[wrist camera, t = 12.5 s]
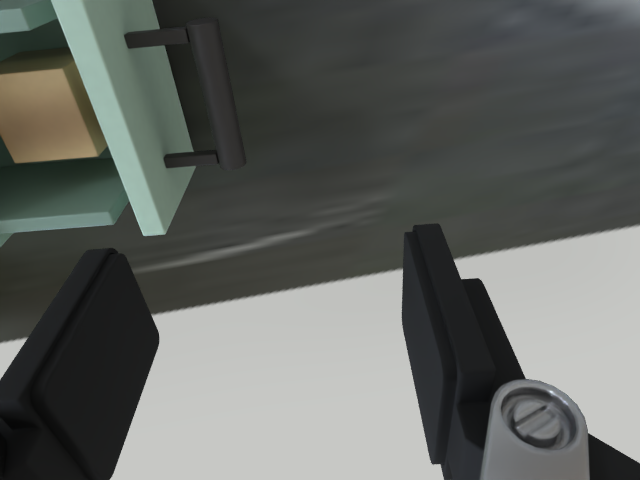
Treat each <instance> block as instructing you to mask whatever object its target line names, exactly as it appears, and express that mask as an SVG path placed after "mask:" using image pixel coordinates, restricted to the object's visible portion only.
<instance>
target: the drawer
mask: <svg viewBox="0 0 640 480" xmlns="http://www.w3.org/2000/svg"><path fill="white" fill-rule="evenodd" d="M189 42H190V43H191V48H192V52H193V56H194V60H195V64H196V68H197V72H198V77H199V81H200V85H201V89H202V93H203V97H204V102H205V106H206V110H207V114H208V118H209V122H210V126H211V131H212V135H213V139H214V143H215V147H216V150H206V151H193V148H192V144H191V141H190V137H189V133H188V130H187V126H186V122H185V119H184V115H183V111H182V108H181V104H180V100H179V97H178V93H177V89H176V86H175V82H174V78H173V75H172V71H171V67H170V64H169V60H168V56H167V53H166V49H165V46H164V45H174V44H185V43H189ZM67 47H70V50H71V53H72V55H73V58H74V60H75V63H76V65H77V68H78V70H79V73H80V76H81V78H82V81H83V83H84V86H85V88H86V91H87V93H88V96H89V98H90V101H91V104H92V106H93V109H94V111H95V114H96V116H97V119H98V121H99V124H100V127H101V129H102V132H103V134H104V137H105V139H106V142H107V144H108V146H107V147H106V148H105V149H104V151H103V152H102V153H101V154H100V155H99V156H98V157H87V158H75V159H63V160H51V161H39V162H28V163H15V162H14V160H13V158H12V156H11V154H10V153H9V151H8V149H7V147H6V145H5V143H4V141H3V139H2V138H1V136H0V233H13V232H26V231H39V230H52V229H64V228H77V227H90V226H103V225H113V224H115V222H116V221H117V219H118V218H119V216H120V214H121V213H122V211H123V210H124V208H125V206H126V205H127V203H128V202H129V200H130V203H131V206H132V208H133V211H134V213H135V216H136V218H137V221H138V223H139V226H140V229H141V231H142V234H143V236H151V235H164V234H166V232H167V230H168V228H169V225H170V223H171V221H172V219H173V217H174V214H175V212H176V210H177V208H178V206H179V203H180V201H181V199H182V197H183V194H184V192H185V190H186V188H187V186H188V183H189V181H190V179H191V177H192V175H193V172H194V170H195V168H196V166H202V165H214V164H218V163H219V164H220V167H221V168H222V169H224V170H235V169H239V168H241V167H243V166H244V165H245V164H246V157H245V152H244V147H243V142H242V137H241V132H240V127H239V122H238V117H237V112H236V107H235V103H234V98H233V93H232V88H231V83H230V78H229V73H228V68H227V63H226V58H225V53H224V48H223V43H222V38H221V33H220V28H219V23H218V19H217V18H200V19H195V20H191V21H189V22H187V23H186V26H185V27H175V28H165V29H160V27H159V24H158V20H157V16H156V13H155V9H154V5H153V2H152V0H0V62H1V61H3V60H5V59H7V58H9V57H11V56H13V55H15V54H17V53H19V52H25V51H36V50H46V49H56V48H67Z"/></svg>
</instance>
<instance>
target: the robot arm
mask: <svg viewBox="0 0 640 480" xmlns="http://www.w3.org/2000/svg"><path fill="white" fill-rule="evenodd" d="M402 325H403V331H404V336H405V341H406V346H407V350H408V355H409V359H410V365H411V370H412V375H413V379H414V384H415V389H416V394H417V398H418V403H419V408H420V413H421V418H422V423H423V427H424V432H425V437H426V442H427V447H428V452H429V456H430V460H431V463H432V464H441V468H442V472H443V477H444V480H640V463H638V462H637V461H635V460H633V459H631V458H630V457H628V456H626V455H624V454H623V453H621V452H619V451H618V450H616V449H614V448H613V447H611V446H609V445H607V444H605V443H604V442H602V441H600V440H599V439H597V438H595V437H594V436H592V435H590V434H589V433H588V430H587V425H586V421H585V417H584V416H583V414H582V412H581V410H580V409H579V407H578V405H577V404H576V403H575V402H574V401H573V400H572V399H571V398H570V397H569V396H568V395H567V394H565V393H564V392H562V391H560V390H559V389H557V388H556V387H554V386H552V385H549V384H547V383H544V382H541V381H537V380H529V379H526V378H525V376H524V374H523V372H522V369H521V367H520V365H519V363H518V360H517V358H516V356H515V354H514V352H513V349H512V347H511V345H510V342H509V340H508V338H507V336H506V334H505V331H504V329H503V327H502V325H501V322H500V320H499V318H498V316H497V313H496V311H495V309H494V307H493V304H492V302H491V300H490V297H489V295H488V293H487V291H486V289H485V286H484V284H483V283H482V281H481V280H480V279H478V278H476V279H461V278H460V276H459V273H458V270H457V268H456V265H455V262H454V260H453V257H452V255H451V252H450V250H449V247H448V245H447V242H446V239H445V237H444V234H443V232H442V229H441V227H440V225H439V224H424V225H414V226H413V232H405V234H404V259H403V295H402ZM158 345H159V333H158V330H157V327H156V325H155V323H154V321H153V318H152V316H151V313H150V311H149V309H148V307H147V304H146V302H145V300H144V297H143V295H142V293H141V290H140V288H139V286H138V284H137V281H136V279H135V277H134V274H133V272H132V270H131V267H130V265H129V263H128V261H127V258H126V257H125V255H124V254H119V253H118V252H117V251H116V250H115V249H113V248H107V249H93V250H88V251H86V252H85V253H84V254H83V256H82V257H81V259H80V260H79V262H78V263H77V265H76V266H75V268H74V269H73V271H72V272H71V274H70V275H69V277H68V278H67V280H66V281H65V283H64V284H63V286H62V287H61V289H60V290H59V292H58V293H57V295H56V296H55V298H54V299H53V301H52V303H51V304H50V306H49V307H48V309H47V310H46V312H45V313H44V315H43V316H42V318H41V319H40V321H39V322H38V324H37V325H36V327H35V328H34V330H33V331H32V333H31V334H30V336H29V337H28V339H27V340H26V342H25V343H24V345H23V346H22V348H21V349H20V351H19V353H18V354H17V356H16V357H15V358H14V360H13V361H12V363H11V365H10V366H9V368H8V369H7V371H6V372H5V374H4V375H3V377H2V378H1V380H0V480H110V478H111V477H112V475H113V473H114V470H115V467H116V464H117V462H118V459H119V456H120V453H121V450H122V447H123V445H124V442H125V439H126V436H127V433H128V431H129V428H130V425H131V422H132V419H133V416H134V413H135V411H136V408H137V405H138V402H139V400H140V396H141V394H142V391H143V388H144V385H145V383H146V379H147V377H148V374H149V371H150V368H151V366H152V363H153V360H154V357H155V354H156V351H157V349H158Z"/></svg>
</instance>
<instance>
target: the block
mask: <svg viewBox="0 0 640 480" xmlns="http://www.w3.org/2000/svg"><path fill="white" fill-rule="evenodd" d="M0 136H1V138H2V139H3V141H4V143H5V145H6V147H7V149H8V151H9V153H10V154H11V156H12V158H13V160H14V162H15V163H28V162H39V161H51V160H63V159H75V158H87V157H98V156H99V155H100V154H101V153H102V152H103V151H104V149H105V148H106V147H107V146H108V144H107V142H106V139H105V137H104V134H103V132H102V129H101V127H100V124H99V121H98V119H97V116H96V114H95V111H94V109H93V106H92V104H91V101H90V98H89V96H88V93H87V91H86V88H85V86H84V83H83V81H82V78H81V76H80V73H79V70H78V68H77V65H76V63H75V60H74V58H73V55H72V53H71V50H70V47H67V48H56V49H46V50H36V51H25V52H19V53H17V54H15V55H13V56H11V57H9V58H7V59H5V60H3V61H1V62H0Z"/></svg>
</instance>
